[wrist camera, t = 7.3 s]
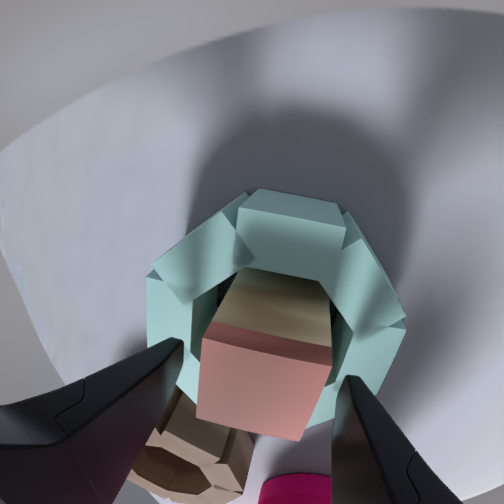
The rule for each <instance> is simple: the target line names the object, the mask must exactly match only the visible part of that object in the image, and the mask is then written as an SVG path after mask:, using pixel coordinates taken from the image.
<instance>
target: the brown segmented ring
mask: <svg viewBox="0 0 504 504" xmlns="http://www.w3.org/2000/svg"><path fill="white" fill-rule="evenodd" d="M196 409H197V404H196V403H195V402H193V401H192V400H191V399H190V398H189V397H188V396H187V395H186V394H185V393H184V392H183V391H182V390H181V389H180V388H179V387H178V386H177V385H176V384H175V387H174V389H173V392H172V395H171V397H170V400H169V402H168V404H167V407H166V409H165V410H164V412H163V414H162V416H161V418H160V420H159V421H158V423H157V425H156V427H155V428H154V430H153V432H152V434H151V436H150V437H149V439H148V441H147V443H146V445H145V446H144V448H143V450H142V452H141V453H140V455H139V457H138V459H137V461H136V462H135V464H134V466H133V468H132V470H131V471H130V473H129V475H128V477H127V478H126V479H128V480H130V481H131V482H133V483H135V484H137V485H139V486H140V487H142V488H144V489H146V490H148V491H150V492H152V493H154V494H156V495H158V496H160V497H162V498H164V499H166V498H168V497H169V498H170V499H171V500H172V501H173V502H178V503H184V504H226V503H228V502H230V501H232V500H234V499H236V498H238V497H239V496H241V495H242V494H243V491H244V487H245V483H246V479H247V475H248V471H249V467H250V463H251V459H252V455H253V450H254V444H253V442H252V439H251V437H250V435H249V432H248V431H244V430H240V429H236V428H232V427H228V426H224V425H220V424H217V423H213V422H209V421H206V420H202V419H199V418H196Z"/></svg>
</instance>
